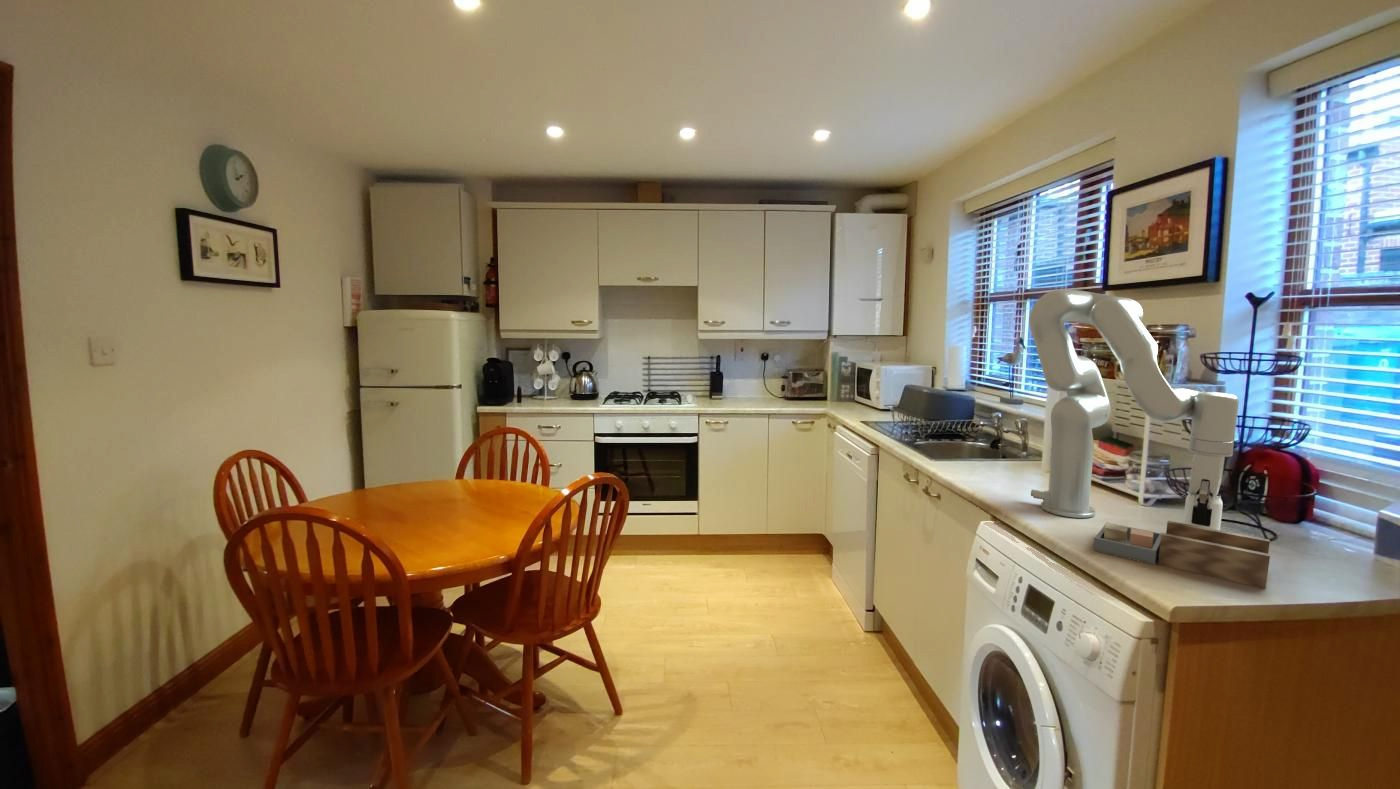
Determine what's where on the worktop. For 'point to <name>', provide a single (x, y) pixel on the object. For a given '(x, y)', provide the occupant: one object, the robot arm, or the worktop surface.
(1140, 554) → the tray
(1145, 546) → the terracotta block
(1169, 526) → the slot block
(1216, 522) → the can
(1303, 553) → the worktop surface
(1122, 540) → the maple block
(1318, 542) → the worktop surface
